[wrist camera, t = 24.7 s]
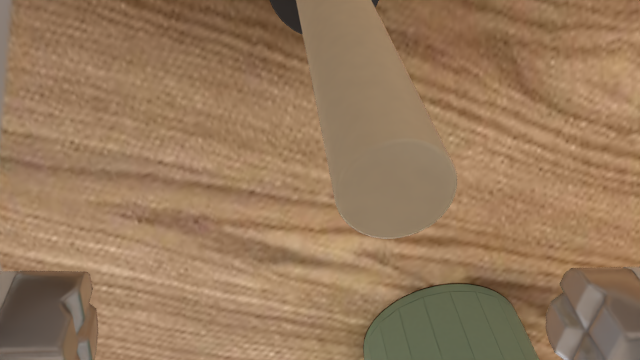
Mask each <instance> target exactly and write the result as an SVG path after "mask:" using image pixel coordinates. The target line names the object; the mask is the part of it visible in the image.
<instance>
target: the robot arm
mask: <svg viewBox="0 0 640 360" xmlns="http://www.w3.org/2000/svg"><path fill="white" fill-rule="evenodd" d="M560 286H561V288H562V290H563V293H562V294H560V295H559V296H558V297H556V298H555V299H554V300H552V301H551V303H550V306H549V308H548V311H547V313H546V332H547V336H548V339H549V342H550V344H551V346H552V348H553V350H554V352H555V353H556V354H557V355H558V356H560V357H561V358H562V359H564V360H640V267H623V268H621V267H602V268H571V269H570V270H568V271H567V272H566V273H565V274H564V276H563V278H562V280H561V282H560ZM92 290H93V287H92V282H91V277H90V274H89V273H88V272H72V271H0V360H95V355H96V350H97V340H98V318H97V311H96V308H95V307H94V306H92V305H91V304H90V303H89V302H90V298H91V294H92Z"/></svg>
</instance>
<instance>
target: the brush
mask: <svg viewBox="0 0 640 360" xmlns="http://www.w3.org/2000/svg"><path fill="white" fill-rule="evenodd" d="M378 1H379V0H270V2H271V4H272V7H273V9H274V10H275V12H276V14H277V15H278V16H279V18H280V19H281V20H282V21H283V22H284V23H285V24H286V25H287V26H289V27H290V28H291V29H293V30H294V31H296V32H298V33H300V34H303V39H304V44H305V49H306V54H307V59H308V64H309V69H310V75H311V80H312V85H313V90H314V95H315V100H316V105H317V110H318V116H319V121H320V126H321V131H322V136H323V141H324V146H325V152H326V157H327V162H328V167H329V172H330V177H331V182H332V188H333V193H334V198H335V203H336V206H337V209H338V211H339V214H340V215H341V217H342V218H343V219H344V220H345V222H346V223H347V224H348V225H350V226H351V227H352V228H353V229H355V230H357V231H358V232H360V233H362V234H365V235H367V236H371V237H375V238H384V239H392V238H401V237H405V236H409V235H412V234H415V233H418V232H420V231H422V230H424V229H426V228H428V227H429V226H431V225H432V224H433V223H435V222H436V221H437V220H438V219H439V218H441V217H442V215H443V214H444V213H445V212H446V211H447V209H448V208H449V207H450V205H451V203H452V201H453V199H454V196H455V193H456V188H457V172H456V169H455V166H454V164H453V162H452V160H451V158H450V156H449V154H448V152H447V150H446V148H445V146H444V144H443V142H442V140H441V138H440V136H439V134H438V132H437V130H436V128H435V126H434V124H433V122H432V120H431V118H430V116H429V114H428V112H427V110H426V108H425V106H424V104H423V102H422V100H421V98H420V96H419V94H418V92H417V90H416V88H415V86H414V84H413V82H412V80H411V78H410V76H409V74H408V72H407V70H406V68H405V66H404V64H403V62H402V60H401V58H400V56H399V54H398V52H397V50H396V48H395V46H394V44H393V42H392V40H391V38H390V36H389V34H388V32H387V30H386V28H385V26H384V24H383V22H382V20H381V18H380V16H379V14H378V12H377V10H376V8H375V7H376V5H377V3H378Z"/></svg>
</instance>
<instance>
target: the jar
mask: <svg viewBox="0 0 640 360" xmlns="http://www.w3.org/2000/svg"><path fill="white" fill-rule="evenodd" d="M363 349H364V360H539V358H538V356H537V354H536V352H535V350H534V348H533V346H532V344H531V341H530V339H529V337H528V335H527V333H526V331H525V329H524V327H523V325H522V323H521V321H520V319H519V318H518V316H517V314H516V312H515V310H514V308H513V306H512V305H511V304H510V302H509V301H508V300H507V299H505V298H504V297H503V296H502V295H500V294H498V293H497V292H495V291H492V290H490V289H488V288H484V287H481V286H476V285H470V284H448V285H440V286H435V287H430V288H426V289H423V290H420V291H417V292H415V293H412V294H410V295H408V296H405V297H404V298H402V299H400V300H398V301H396V302H395V303H393V304H392V305H391V306H389V307H388V308H387V309H385V310H384V311H383V312H382V313H381V314H380V315H379V316H378V317H377V318H376V319H375V320H374V322H373V323H372V325H371V326H370V328H369V330H368V332H367V334H366V337H365V340H364V347H363Z"/></svg>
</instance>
